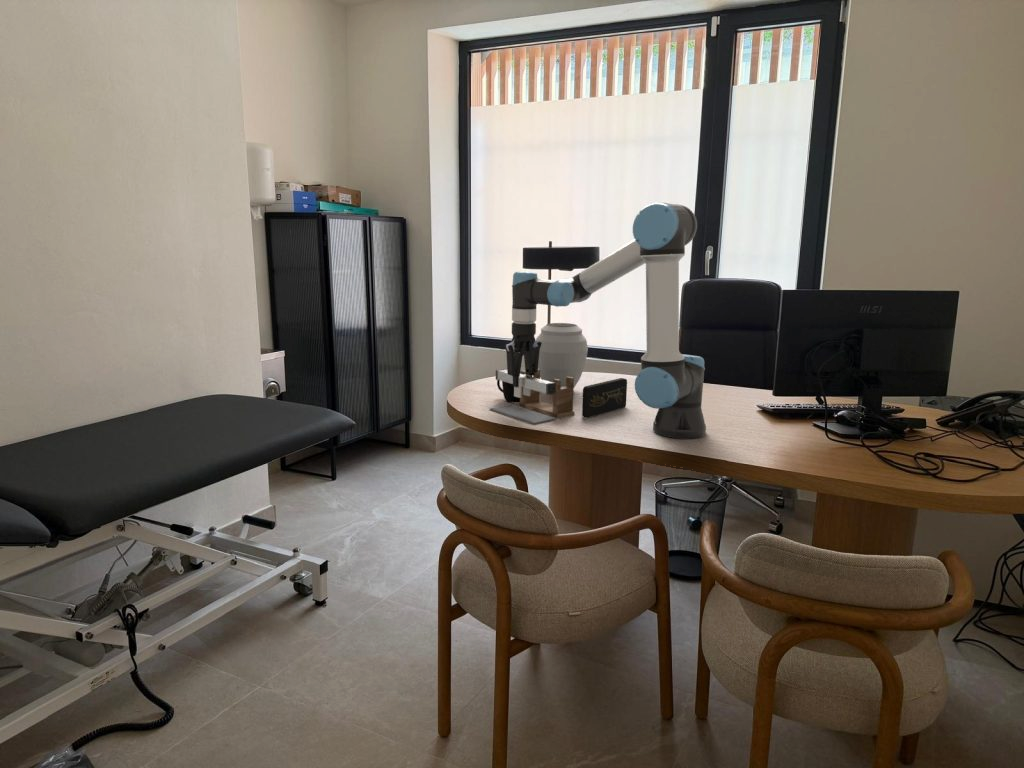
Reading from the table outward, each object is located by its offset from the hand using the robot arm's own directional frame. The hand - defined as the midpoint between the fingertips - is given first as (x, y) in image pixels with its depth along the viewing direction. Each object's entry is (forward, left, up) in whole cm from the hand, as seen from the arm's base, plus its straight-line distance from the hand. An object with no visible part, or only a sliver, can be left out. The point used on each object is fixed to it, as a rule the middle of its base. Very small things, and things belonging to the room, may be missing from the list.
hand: (522, 395), depth 219 cm
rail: (-1, 0, +3) cm, 4 cm away
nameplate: (-13, -24, -7) cm, 28 cm away
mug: (+18, -10, -6) cm, 21 cm away
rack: (0, -10, -6) cm, 12 cm away
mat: (0, 0, -6) cm, 6 cm away
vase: (+18, -33, -6) cm, 38 cm away
